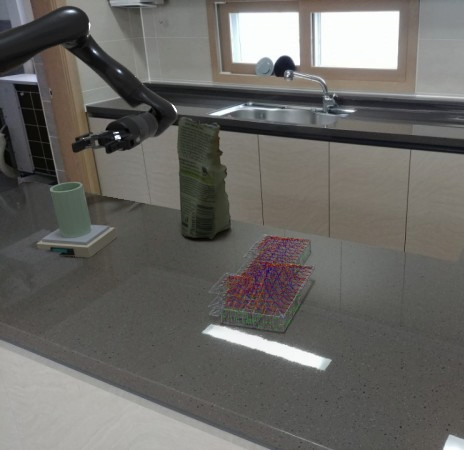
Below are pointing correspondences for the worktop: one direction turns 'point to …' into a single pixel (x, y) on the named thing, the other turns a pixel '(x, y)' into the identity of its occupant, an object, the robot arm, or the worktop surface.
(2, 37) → the robot arm
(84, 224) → the cup
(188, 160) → the pouch
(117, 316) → the worktop surface
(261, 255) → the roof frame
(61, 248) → the scale
